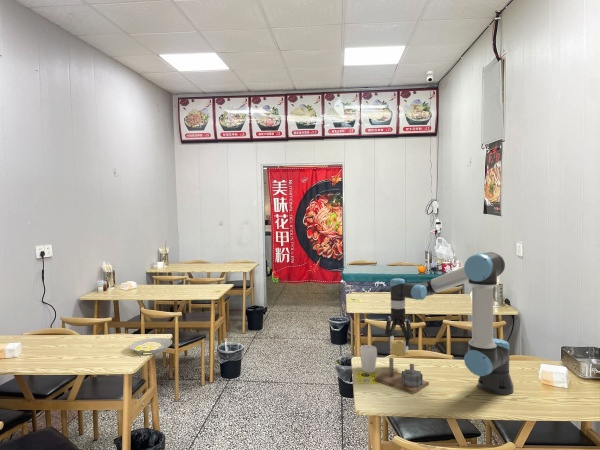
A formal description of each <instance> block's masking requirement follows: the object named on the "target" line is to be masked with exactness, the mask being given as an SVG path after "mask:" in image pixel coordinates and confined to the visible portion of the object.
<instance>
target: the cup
mask: <svg viewBox="0 0 600 450" xmlns="http://www.w3.org/2000/svg"><path fill="white" fill-rule="evenodd" d="M359 357H360V362H361V364H360V365H361V370H362V372H365V373H374V372H375V371H376V365H377V364H376V363H377V357H378V349H377V346H375V345H370V344H364V345H360V347H359Z"/></svg>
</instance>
